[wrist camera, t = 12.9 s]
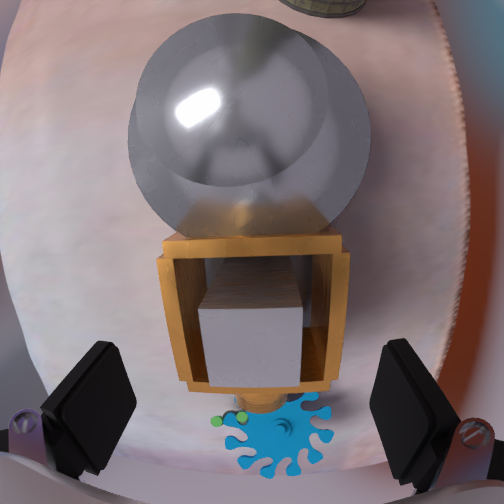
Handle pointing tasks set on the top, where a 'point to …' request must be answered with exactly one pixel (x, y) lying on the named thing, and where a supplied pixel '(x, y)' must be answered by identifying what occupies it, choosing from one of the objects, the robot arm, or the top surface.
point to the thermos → (325, 7)
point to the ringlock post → (250, 178)
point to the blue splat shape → (277, 434)
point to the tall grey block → (253, 323)
